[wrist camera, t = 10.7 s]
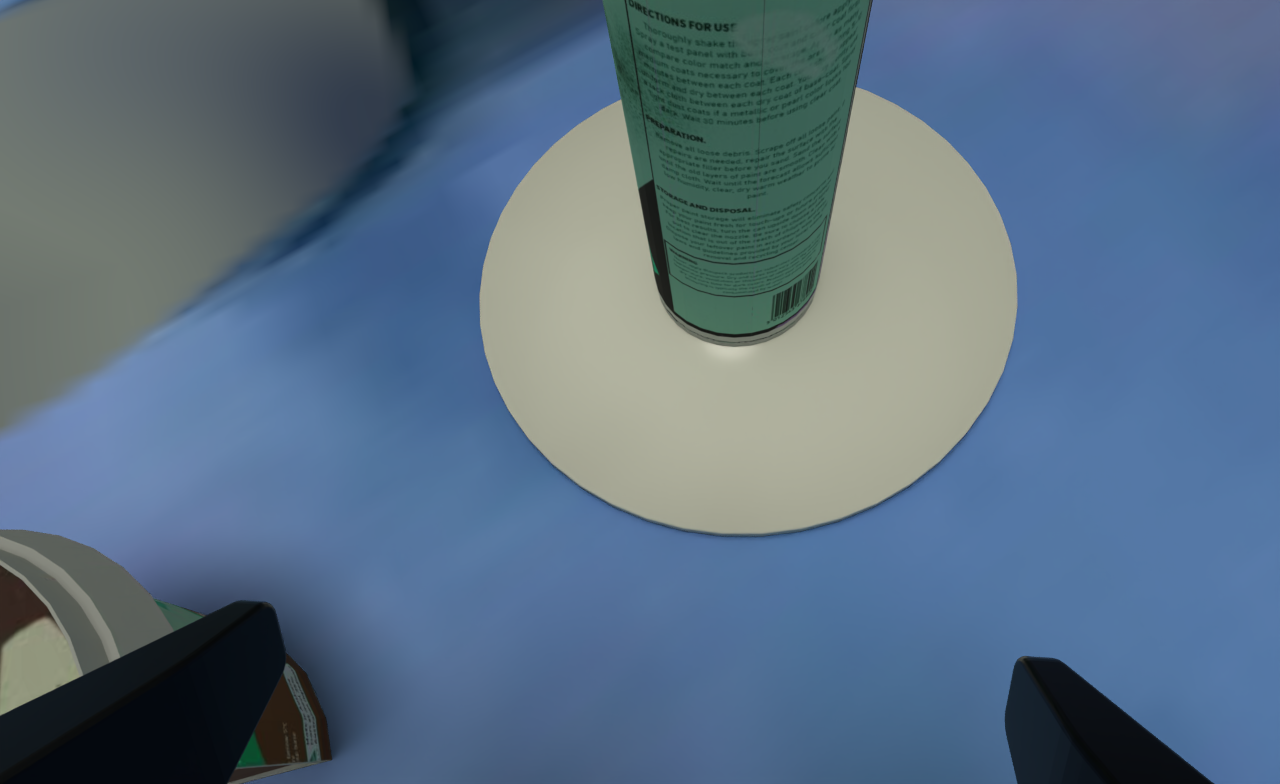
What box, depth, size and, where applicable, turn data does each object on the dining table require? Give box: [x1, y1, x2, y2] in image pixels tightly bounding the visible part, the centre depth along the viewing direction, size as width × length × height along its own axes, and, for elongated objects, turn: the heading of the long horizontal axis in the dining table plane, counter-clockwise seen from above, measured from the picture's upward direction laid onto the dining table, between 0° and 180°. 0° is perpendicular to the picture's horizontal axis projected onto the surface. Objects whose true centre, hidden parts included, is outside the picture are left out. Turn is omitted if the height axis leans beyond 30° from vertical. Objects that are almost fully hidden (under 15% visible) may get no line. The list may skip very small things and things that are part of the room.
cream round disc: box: [480, 87, 1017, 536], centre depth 26 cm, size 18×18×1 cm
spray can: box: [603, 0, 873, 347], centre depth 17 cm, size 6×6×20 cm
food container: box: [0, 530, 332, 784], centre depth 19 cm, size 12×6×10 cm, turn 103°
